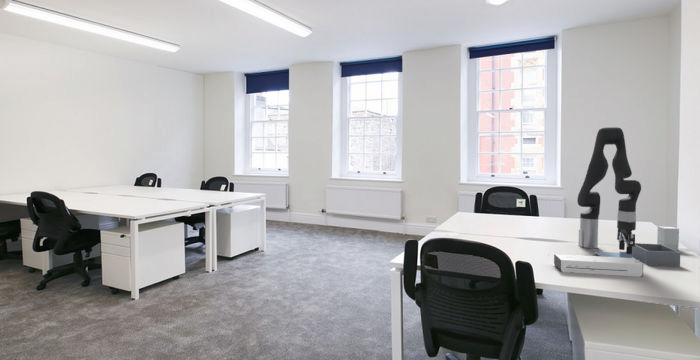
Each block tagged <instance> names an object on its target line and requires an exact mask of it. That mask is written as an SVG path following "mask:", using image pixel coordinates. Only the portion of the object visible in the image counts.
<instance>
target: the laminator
mask: <svg viewBox="0 0 700 360" xmlns="http://www.w3.org/2000/svg"><path fill="white" fill-rule="evenodd" d="M553 257H554V258H553V259H554V260H553V263H554V266H555V265H556V268H558V269H559V271H560V272H561V273H570V272H574V273H573V274H587V275H588V274H590V275H591V274H593V275H607V276H621V275H622V277H623V276H625V277H643V275H644V263H643V262H641V261H640V262H639V260H638V261H637V259H636V260H635V259H633V258H634V257H633V258H622V257H601V256H596V255H595V256H594V255H579V254H578V255H576V254H558V253H557V254H556V253H555V254H554V255H553Z"/></svg>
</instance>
